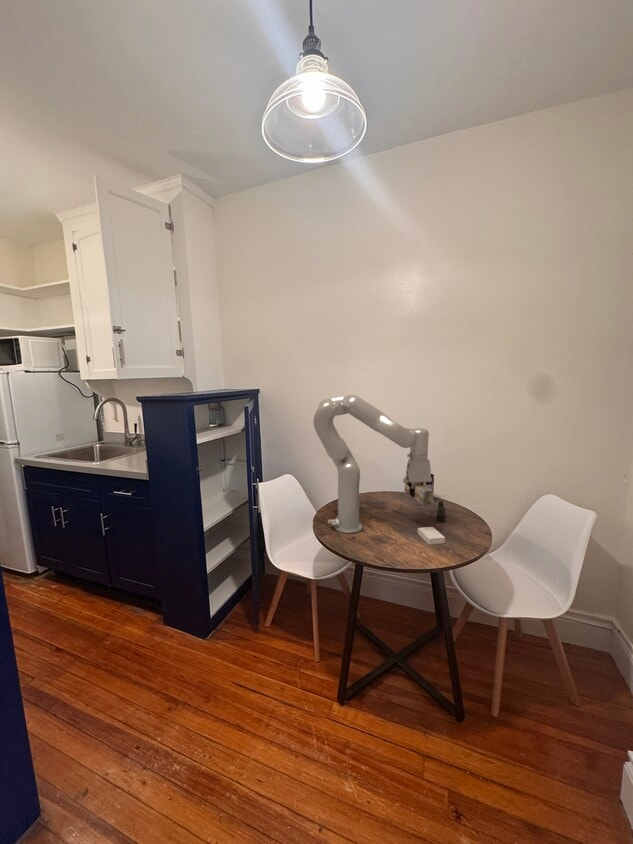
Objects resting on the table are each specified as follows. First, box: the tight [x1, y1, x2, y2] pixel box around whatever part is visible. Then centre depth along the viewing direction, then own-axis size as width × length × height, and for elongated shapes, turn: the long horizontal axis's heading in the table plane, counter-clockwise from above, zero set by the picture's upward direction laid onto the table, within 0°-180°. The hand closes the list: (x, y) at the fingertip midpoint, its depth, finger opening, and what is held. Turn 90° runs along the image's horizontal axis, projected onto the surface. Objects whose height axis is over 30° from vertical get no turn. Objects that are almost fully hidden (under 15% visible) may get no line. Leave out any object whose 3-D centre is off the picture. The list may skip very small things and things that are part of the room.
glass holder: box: [419, 473, 435, 503], centre depth 178 cm, size 9×14×15 cm, turn 86°
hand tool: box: [435, 500, 446, 523], centre depth 160 cm, size 19×4×5 cm, turn 156°
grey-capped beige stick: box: [403, 480, 433, 506], centre depth 145 cm, size 4×18×6 cm, turn 10°
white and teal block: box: [417, 526, 446, 545], centre depth 137 cm, size 7×3×10 cm
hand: (417, 495), depth 145 cm, fingers closed on grey-capped beige stick, 4 cm apart
